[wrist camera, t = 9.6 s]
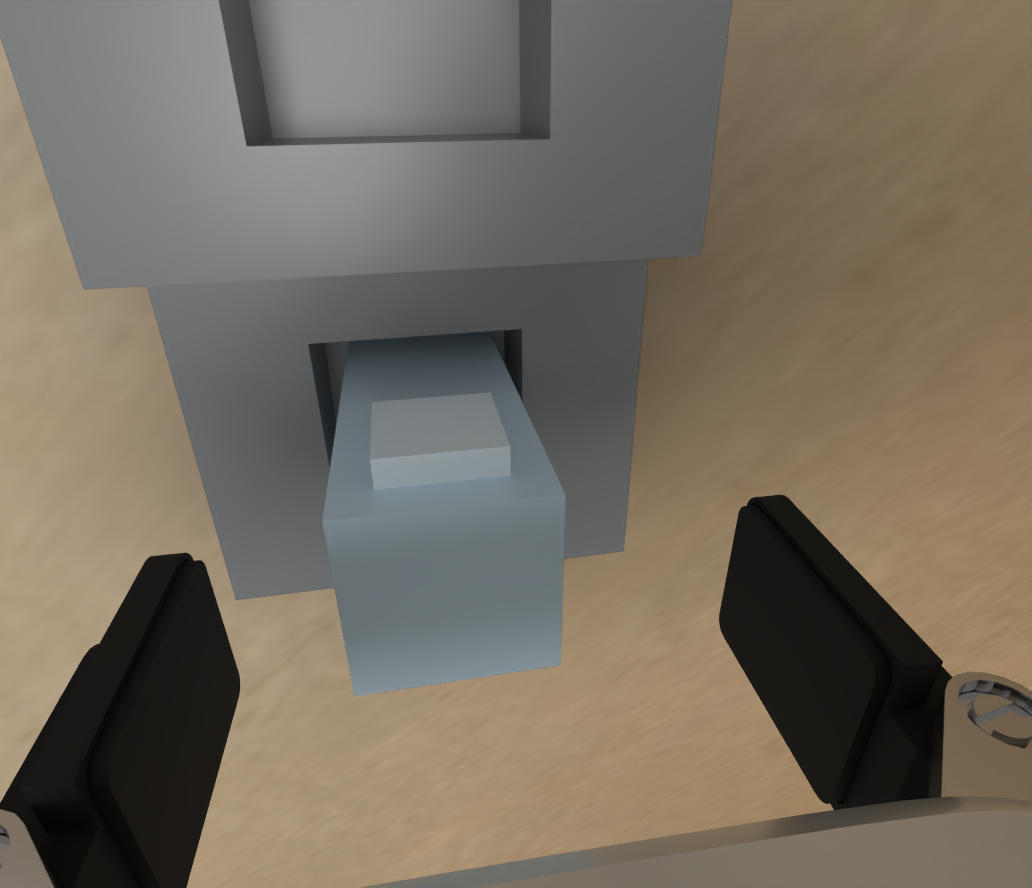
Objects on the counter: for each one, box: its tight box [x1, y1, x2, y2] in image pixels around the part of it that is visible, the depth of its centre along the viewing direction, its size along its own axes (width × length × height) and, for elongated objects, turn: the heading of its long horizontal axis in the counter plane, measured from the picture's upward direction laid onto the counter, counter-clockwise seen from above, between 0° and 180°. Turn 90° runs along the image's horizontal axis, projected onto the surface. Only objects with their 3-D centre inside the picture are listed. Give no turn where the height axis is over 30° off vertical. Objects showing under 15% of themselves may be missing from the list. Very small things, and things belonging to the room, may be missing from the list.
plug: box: [322, 331, 566, 696], centre depth 16 cm, size 4×5×10 cm
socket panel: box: [0, 0, 732, 600], centre depth 15 cm, size 12×20×6 cm, turn 0°
